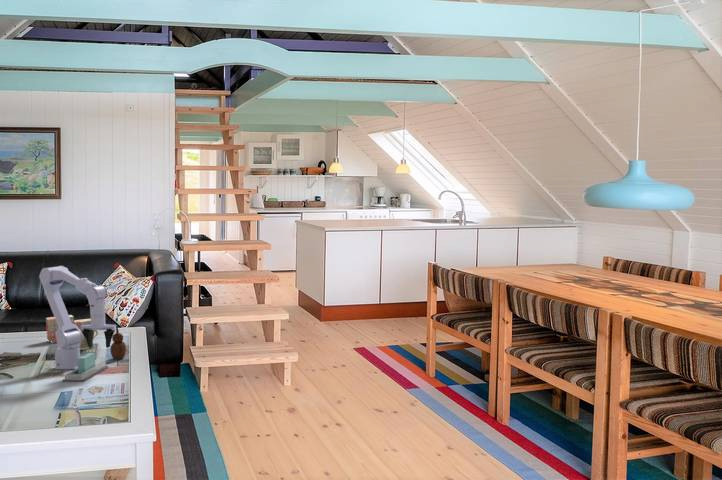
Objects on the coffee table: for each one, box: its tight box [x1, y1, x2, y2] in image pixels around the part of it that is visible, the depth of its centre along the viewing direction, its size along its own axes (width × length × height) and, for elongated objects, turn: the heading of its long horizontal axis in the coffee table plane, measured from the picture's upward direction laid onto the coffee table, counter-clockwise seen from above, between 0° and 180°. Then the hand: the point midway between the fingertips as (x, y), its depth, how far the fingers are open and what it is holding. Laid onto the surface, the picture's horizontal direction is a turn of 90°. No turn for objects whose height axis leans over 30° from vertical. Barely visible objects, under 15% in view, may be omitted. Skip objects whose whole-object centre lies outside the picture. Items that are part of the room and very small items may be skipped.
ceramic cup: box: [78, 326, 99, 351], centre depth 346 cm, size 13×10×10 cm
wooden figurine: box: [110, 325, 127, 360], centre depth 325 cm, size 7×6×15 cm
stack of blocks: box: [45, 314, 91, 343], centre depth 368 cm, size 21×6×12 cm, turn 121°
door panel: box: [77, 352, 96, 374], centre depth 299 cm, size 3×9×7 cm, turn 174°
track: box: [62, 361, 109, 383], centre depth 299 cm, size 9×22×3 cm, turn 175°
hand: (99, 347), depth 303 cm, fingers open, 7 cm apart
